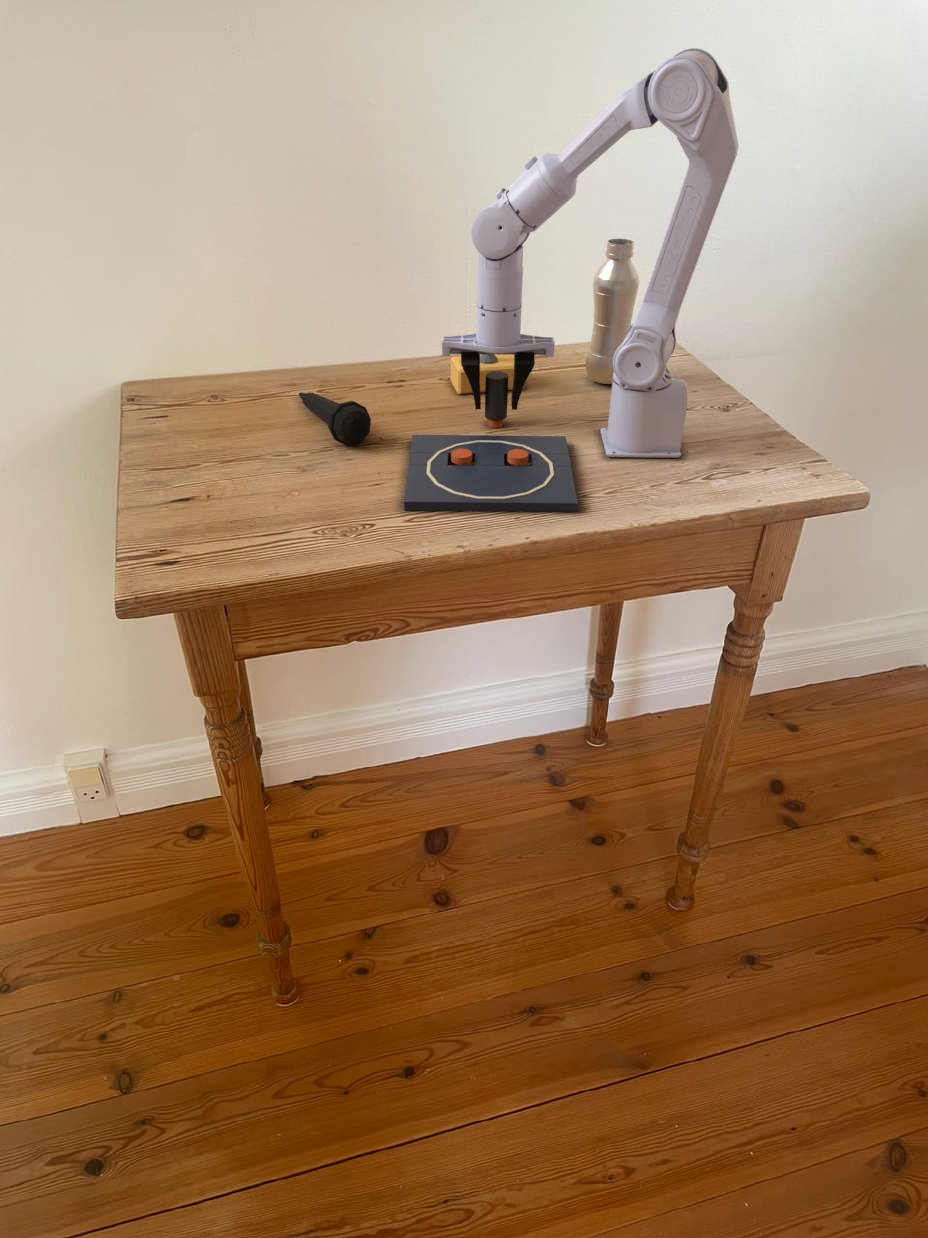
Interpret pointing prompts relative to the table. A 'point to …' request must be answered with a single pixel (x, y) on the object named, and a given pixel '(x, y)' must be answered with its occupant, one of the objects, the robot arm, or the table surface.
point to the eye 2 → (518, 457)
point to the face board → (490, 475)
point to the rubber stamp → (482, 371)
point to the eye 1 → (461, 456)
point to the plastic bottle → (611, 308)
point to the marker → (496, 398)
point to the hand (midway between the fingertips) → (496, 406)
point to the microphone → (340, 417)
